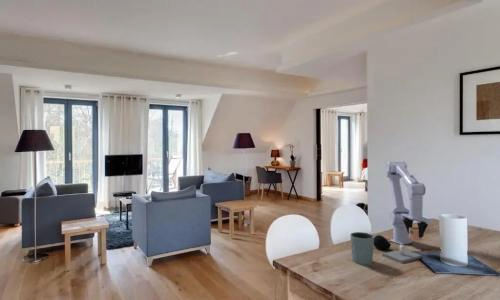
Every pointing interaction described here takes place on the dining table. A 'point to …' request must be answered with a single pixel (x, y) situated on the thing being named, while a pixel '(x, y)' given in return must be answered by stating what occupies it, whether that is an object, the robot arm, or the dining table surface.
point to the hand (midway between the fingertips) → (415, 235)
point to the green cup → (362, 248)
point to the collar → (414, 233)
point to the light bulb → (383, 243)
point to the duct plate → (401, 255)
